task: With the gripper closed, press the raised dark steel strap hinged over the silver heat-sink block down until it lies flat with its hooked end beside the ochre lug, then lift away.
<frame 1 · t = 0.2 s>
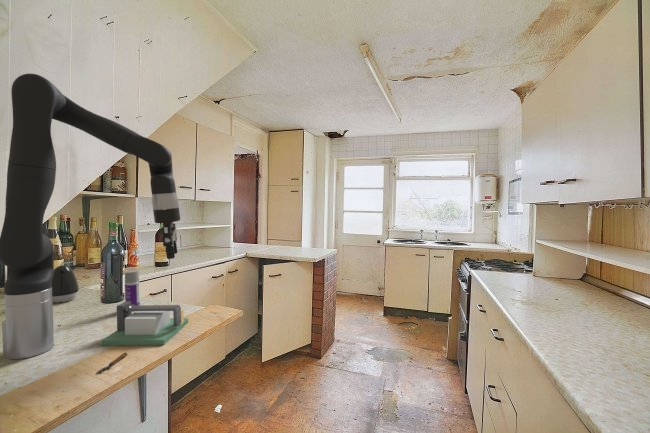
hand: (172, 256, 97), 24 cm above the worktop, tool pointing down, fingers open, 8 cm apart
can opener: (112, 365, 75), on the worktop
container: (132, 309, 113), on the worktop
cpu board: (148, 332, 93), on the worktop
black tall dome: (63, 301, 122), on the worktop
strap: (153, 315, 93), point 6 cm above the worktop, hinge at 0.3°, touching cpu board
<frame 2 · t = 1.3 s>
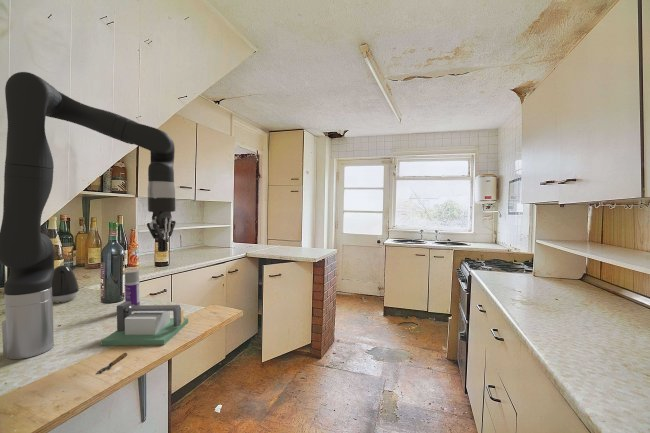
hand: (162, 251, 92), 26 cm above the worktop, tool pointing down, fingers closed
nothing on the worktop moved.
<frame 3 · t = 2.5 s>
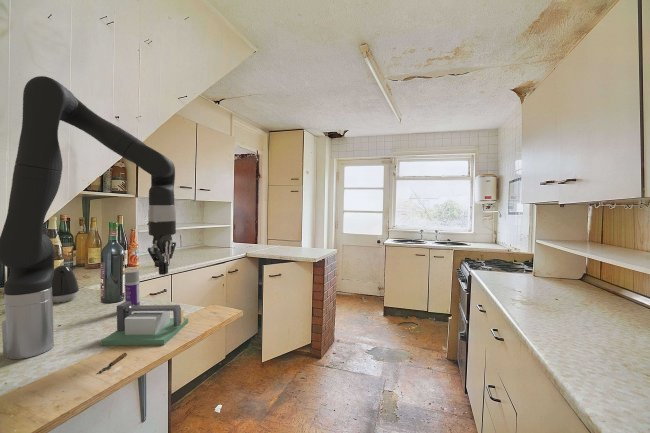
hand: (163, 274, 92), 19 cm above the worktop, tool pointing down, fingers closed
nothing on the worktop moved.
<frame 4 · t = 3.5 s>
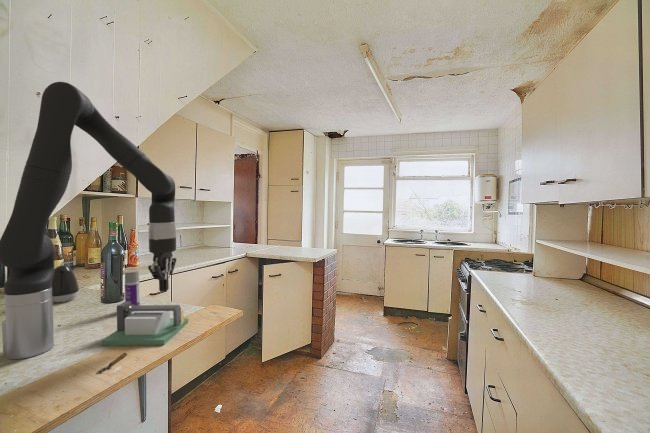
hand: (163, 290, 92), 14 cm above the worktop, tool pointing down, fingers closed
nothing on the worktop moved.
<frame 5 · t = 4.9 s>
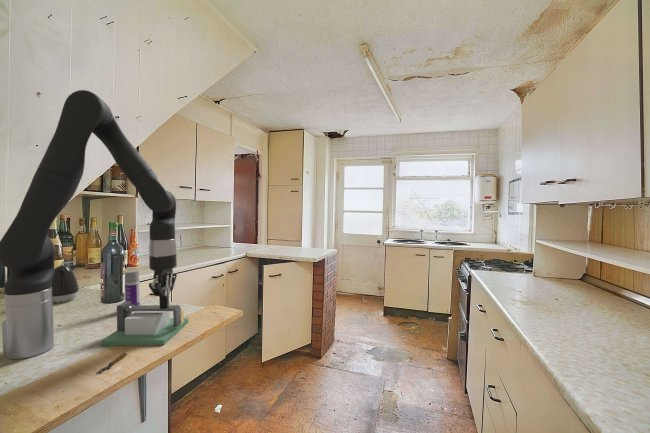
hand: (164, 307, 93), 8 cm above the worktop, tool pointing down, fingers closed
strap: (152, 315, 93), point 6 cm above the worktop, hinge at 0.0°, touching cpu board, gripper
everything else where it was.
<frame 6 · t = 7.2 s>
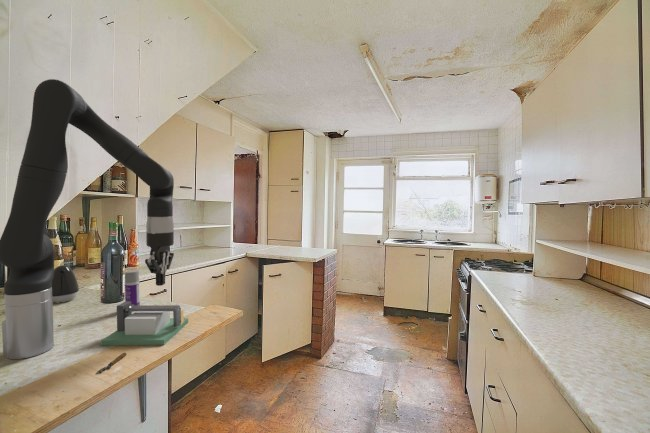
hand: (160, 284, 93), 15 cm above the worktop, tool pointing down, fingers closed
strap: (152, 315, 93), point 6 cm above the worktop, hinge at 0.0°, touching cpu board
everything else where it was.
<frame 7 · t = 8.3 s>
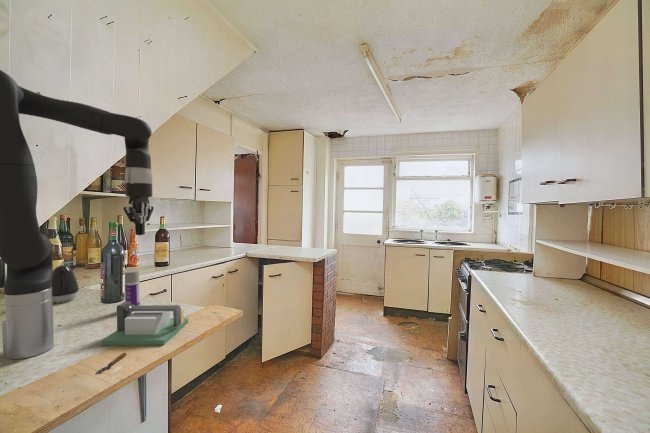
hand: (140, 234, 96), 31 cm above the worktop, tool pointing down, fingers closed
nothing on the worktop moved.
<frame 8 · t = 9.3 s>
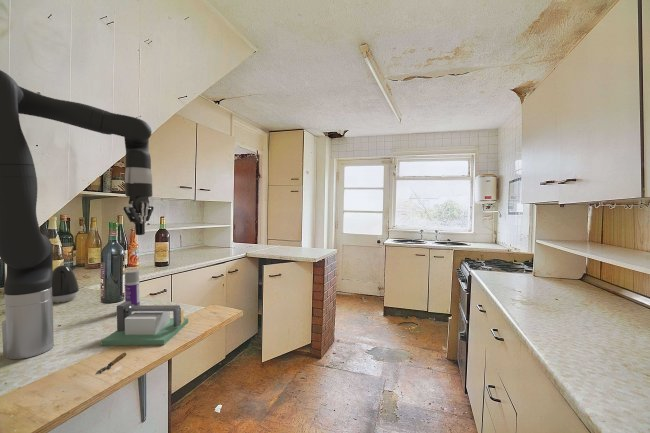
hand: (140, 234, 96), 31 cm above the worktop, tool pointing down, fingers closed
nothing on the worktop moved.
at the end: strap at +0° (first picture: +1°) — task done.
